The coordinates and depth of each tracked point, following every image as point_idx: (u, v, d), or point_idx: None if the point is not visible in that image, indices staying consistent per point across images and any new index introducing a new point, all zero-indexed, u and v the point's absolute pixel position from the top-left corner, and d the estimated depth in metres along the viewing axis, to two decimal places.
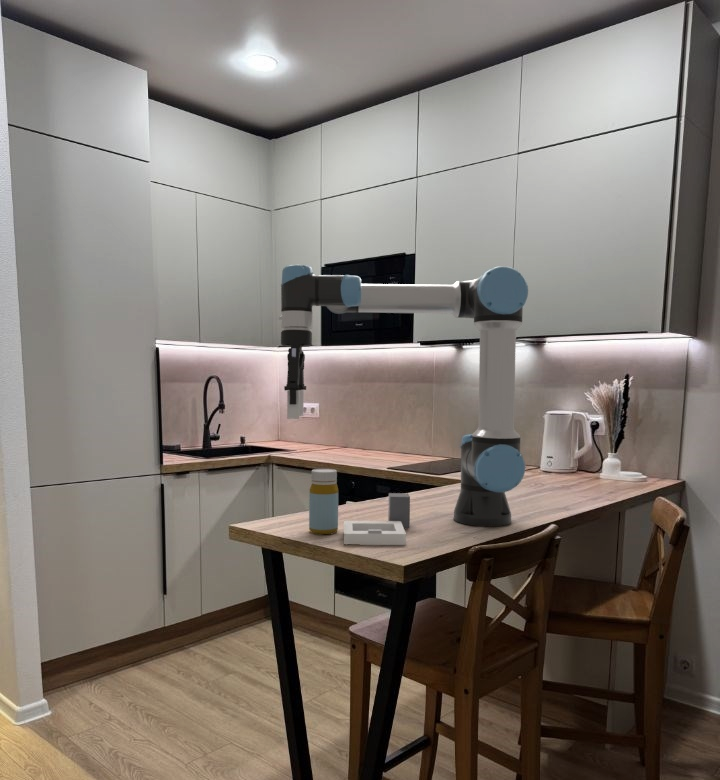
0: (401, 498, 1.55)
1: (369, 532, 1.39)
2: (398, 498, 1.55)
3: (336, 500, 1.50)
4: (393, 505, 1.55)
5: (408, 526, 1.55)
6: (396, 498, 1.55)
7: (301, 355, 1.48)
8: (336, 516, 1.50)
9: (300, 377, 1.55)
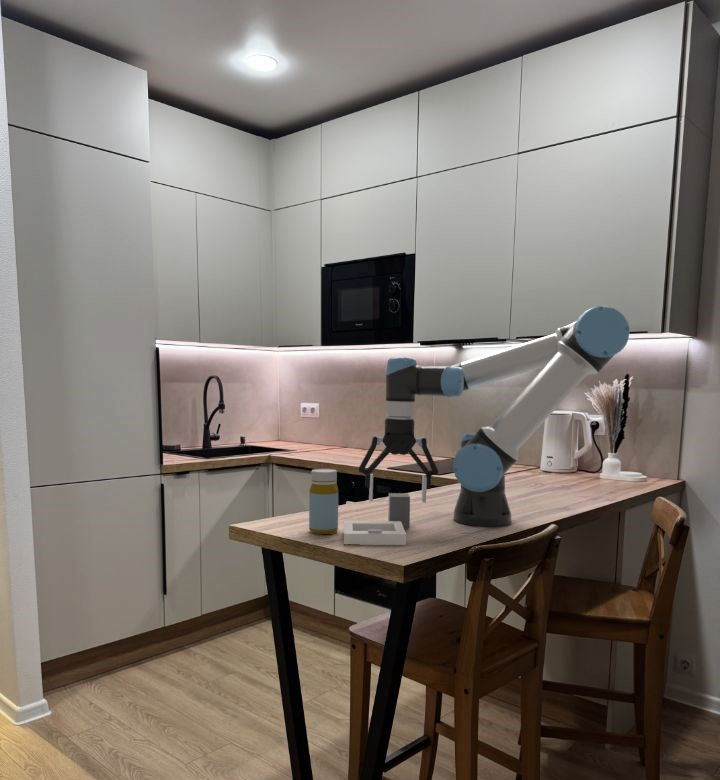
0: (401, 498, 1.55)
1: (369, 532, 1.39)
2: (398, 498, 1.55)
3: (336, 500, 1.50)
4: (393, 505, 1.55)
5: (408, 526, 1.55)
6: (396, 498, 1.55)
7: (391, 443, 1.56)
8: (336, 516, 1.50)
9: (417, 463, 1.57)
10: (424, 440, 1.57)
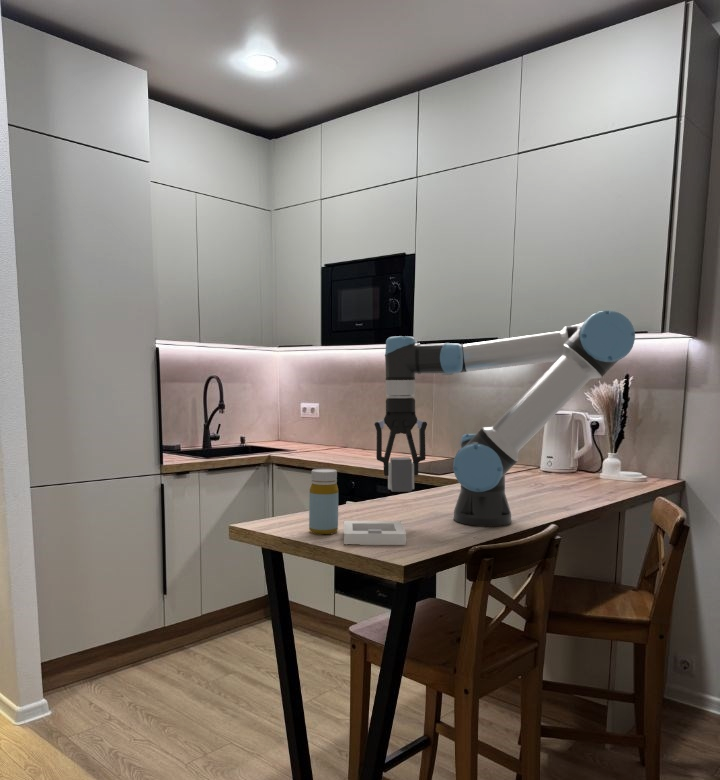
0: (403, 461, 1.55)
1: (369, 532, 1.39)
2: (400, 461, 1.55)
3: (336, 500, 1.50)
4: (395, 468, 1.55)
5: (410, 489, 1.55)
6: (398, 461, 1.55)
7: (393, 423, 1.56)
8: (336, 516, 1.50)
9: (409, 446, 1.57)
10: (425, 424, 1.56)
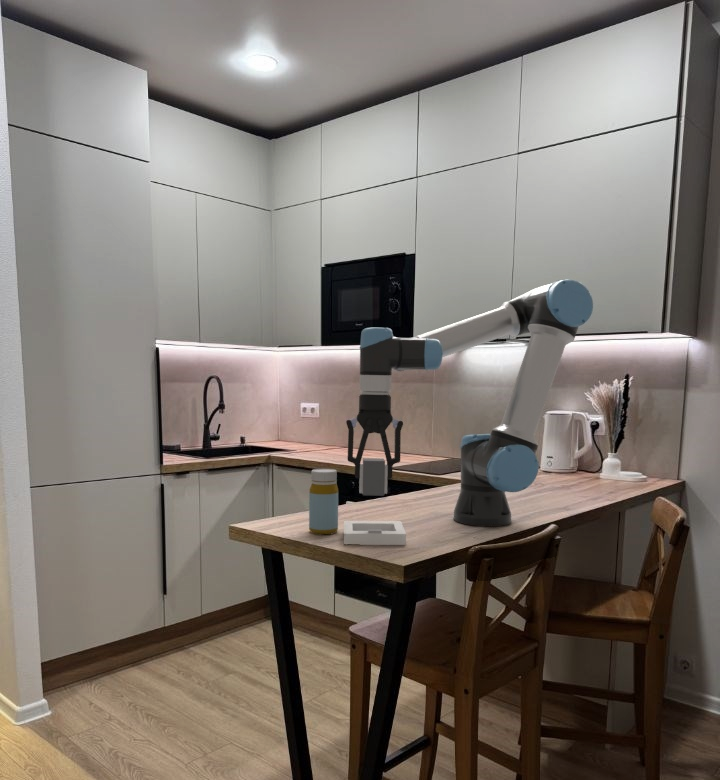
0: (375, 462, 1.43)
1: (369, 532, 1.39)
2: (372, 462, 1.43)
3: (336, 500, 1.50)
4: (367, 470, 1.43)
5: (383, 493, 1.43)
6: (370, 462, 1.43)
7: (366, 422, 1.44)
8: (336, 516, 1.50)
9: (383, 447, 1.45)
10: (401, 423, 1.44)
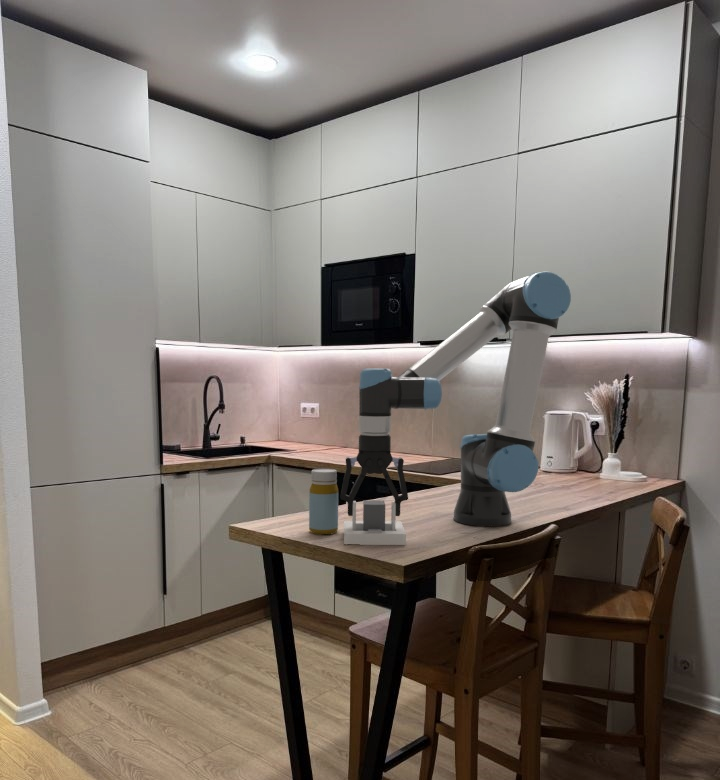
0: (376, 506, 1.43)
1: (369, 532, 1.39)
2: (372, 506, 1.43)
3: (336, 500, 1.50)
4: (367, 514, 1.43)
5: None
6: (370, 506, 1.43)
7: (366, 462, 1.44)
8: (336, 516, 1.50)
9: None
10: (401, 461, 1.44)
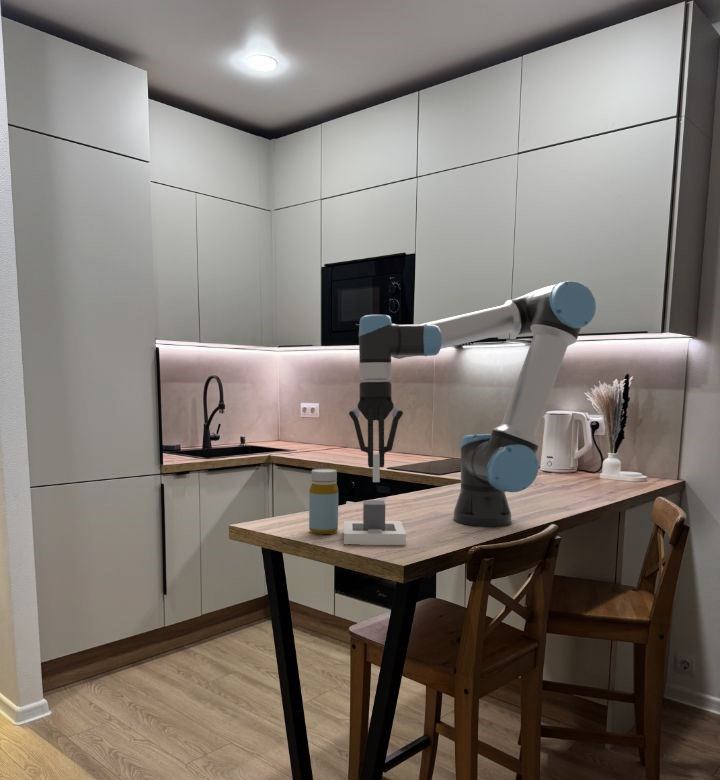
0: (376, 506, 1.43)
1: (369, 532, 1.39)
2: (372, 506, 1.43)
3: (336, 500, 1.50)
4: (367, 514, 1.43)
5: None
6: (370, 506, 1.43)
7: (367, 410, 1.44)
8: (336, 516, 1.50)
9: None
10: (400, 413, 1.44)
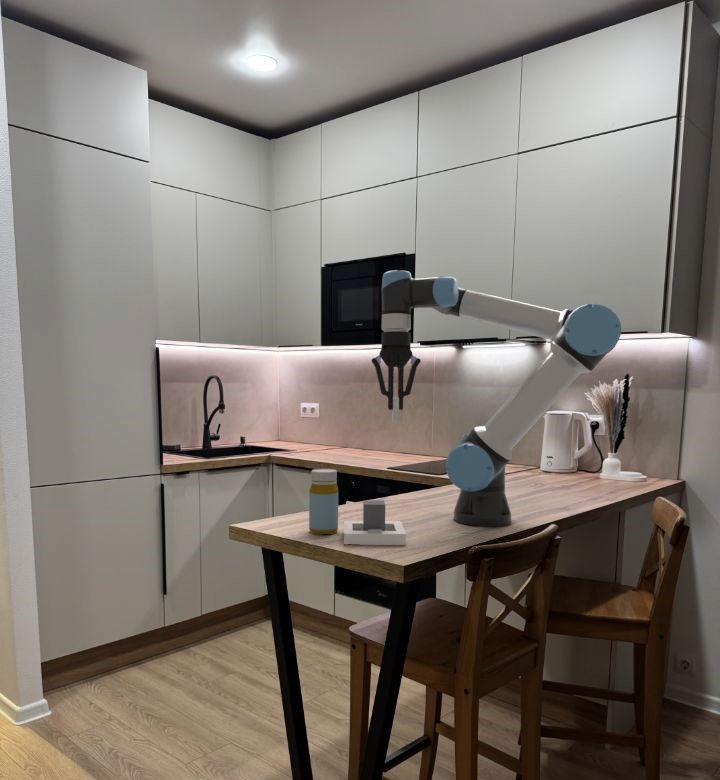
0: (376, 506, 1.43)
1: (369, 532, 1.39)
2: (372, 506, 1.43)
3: (336, 500, 1.50)
4: (367, 514, 1.43)
5: None
6: (370, 506, 1.43)
7: (389, 357, 1.58)
8: (336, 516, 1.50)
9: (398, 380, 1.59)
10: (418, 361, 1.59)
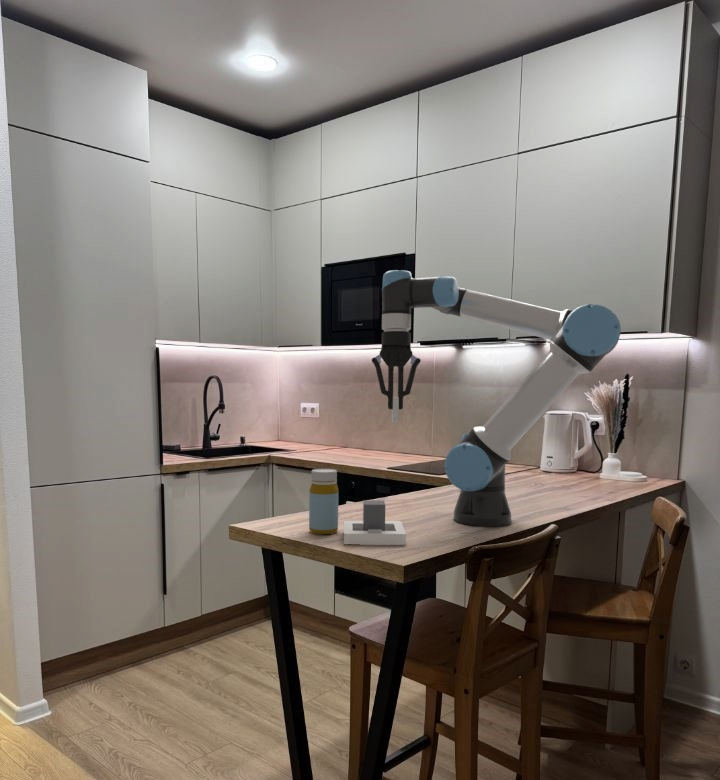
0: (376, 506, 1.43)
1: (369, 532, 1.39)
2: (372, 506, 1.43)
3: (336, 500, 1.50)
4: (367, 514, 1.43)
5: None
6: (370, 506, 1.43)
7: (389, 357, 1.59)
8: (336, 516, 1.50)
9: (398, 379, 1.60)
10: (418, 360, 1.59)
